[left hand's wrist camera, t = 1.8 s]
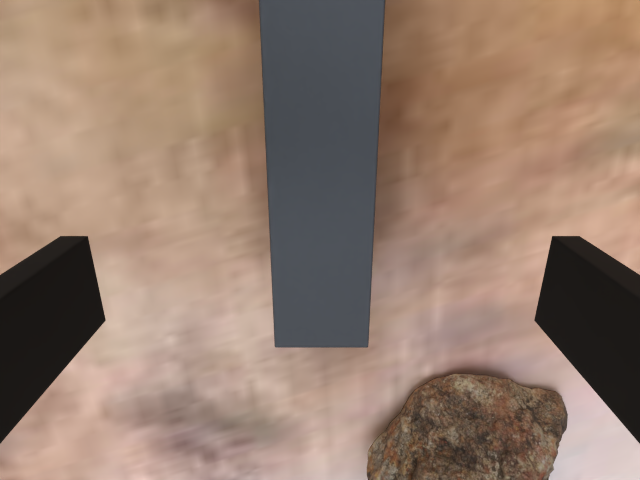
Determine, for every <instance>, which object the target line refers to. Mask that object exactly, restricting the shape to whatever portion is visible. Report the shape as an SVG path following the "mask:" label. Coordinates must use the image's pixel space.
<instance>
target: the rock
mask: <svg viewBox="0 0 640 480" xmlns="http://www.w3.org/2000/svg"><path fill="white" fill-rule="evenodd" d="M567 416H568V414H567V411H566V408H565V405H564V402H563V400H562V396H561V395H559V394H558V393H557V392H555V391H549V390H543V389H540V388H533V389H530V388H528V387H522V386H520V385H518V384H516V383H515V382H513V381H512V380H510V379H498V378H496V377H491V376H483V375H474V374H453V375H449V376H445V377H440V378H435V379H433V380H431V381H429V382H427V383H426V384H424V385H422V386H420V387H418V388H417V389H416V390H415V391H414V392H413V393H412V394H411V395H410V397H409V399H408V401H407V402H406V404H405V405H404V407H403V409H402V411H401V413H400V414H399V415H398V416H397V417H396V418H395V419H393V420H392V422H391V423H390V424H389V426H388V427H387V429H386V430H385V431H384V432H383V433H382V434H381V435H380V436H379V437H378V438H377V439H376V440H375V441H374V443H373V444H372V446H371V447H370V449H369V451H368V464H367V477H368V480H548V478H549V476H550V473H551V472H552V471H553V470H554V469H553V463H554V461H555V459H556V456H557V454H558V450H557V449H558V446H559V442H560V441H561V438H562V434H563V433H564V432H565V430H566V428H567Z"/></svg>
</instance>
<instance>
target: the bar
mask: <svg viewBox="0 0 640 480" xmlns="http://www.w3.org/2000/svg"><path fill="white" fill-rule="evenodd" d="M259 11H260V33H261V55H262V77H263V98H264V120H265V142H266V164H267V186H268V207H269V229H270V251H271V273H272V295H273V316H274V338H275V347H368V340H369V320H370V299H371V279H372V258H373V238H374V217H375V197H376V176H377V156H378V135H379V115H380V94H381V74H382V54H383V33H384V13H385V0H259Z"/></svg>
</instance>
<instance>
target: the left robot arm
mask: <svg viewBox="0 0 640 480" xmlns="http://www.w3.org/2000/svg"><path fill="white" fill-rule="evenodd" d="M104 322H105V315H104V311H103V306H102V301H101V297H100V292H99V287H98V282H97V278H96V273H95V268H94V264H93V259H92V254H91V249H90V245H89V240H88V236H60V237H59V238H57V239H56V240H54V241H52V242H51V243H49V244H48V245H46V246H45V247H43V248H42V249H40V250H38V251H37V252H35V253H34V254H32V255H31V256H29V257H28V258H26V259H24V260H23V261H21V262H20V263H18V264H17V265H15V266H14V267H12V268H10V269H9V270H7V271H6V272H4V273H3V274H1V275H0V443H1V442H2V441H3V440H4V438H5V437H6V436H7V435H8V434H9V433H10V431H11V430H12V429H13V428H14V427H15V426H16V424H17V423H18V422H19V421H20V420H21V419H22V417H23V416H24V415H25V414H26V413H27V412H28V410H29V409H30V408H31V407H32V406H33V405H34V403H35V402H36V401H37V400H38V399H39V398H40V396H41V395H42V394H43V393H44V392H45V391H46V389H47V388H48V387H49V386H50V385H51V384H52V382H53V381H54V380H55V379H56V378H57V377H58V375H59V374H60V373H61V372H62V371H63V369H64V368H65V367H66V366H67V365H68V364H69V362H70V361H71V360H72V359H73V358H74V357H75V355H76V354H77V353H78V352H79V351H80V350H81V348H82V347H83V346H84V345H85V344H86V343H87V341H88V340H89V339H90V338H91V337H92V336H93V334H94V333H95V332H96V331H97V330H98V329H99V327H100V326H101V325H102V324H103V323H104ZM535 322H536V323H537V324H538V325H539V326H540V327H541V329H542V330H543V331H544V332H545V333H546V334H547V336H548V337H549V338H550V339H551V340H552V341H553V343H554V344H555V345H556V346H557V347H558V348H559V350H560V351H561V352H562V353H563V354H564V355H565V357H566V358H567V359H568V360H569V361H570V362H571V364H572V365H573V366H574V367H575V368H576V369H577V371H578V372H579V373H580V374H581V375H582V377H583V378H584V379H585V380H586V381H587V382H588V384H589V385H590V386H591V387H592V388H593V389H594V391H595V392H596V393H597V394H598V395H599V396H600V398H601V399H602V400H603V401H604V402H605V403H606V405H607V406H608V407H609V408H610V409H611V410H612V412H613V413H614V414H615V415H616V416H617V417H618V419H619V420H620V421H621V422H622V423H623V424H624V426H625V427H626V428H627V429H628V430H629V431H630V433H631V434H632V435H633V436H634V437H635V438H636V440H637V441H638V442H639V443H640V275H639V274H637V273H636V272H634V271H633V270H631V269H630V268H628V267H626V266H625V265H623V264H622V263H620V262H619V261H617V260H616V259H614V258H612V257H611V256H609V255H608V254H606V253H605V252H603V251H602V250H600V249H598V248H597V247H595V246H594V245H592V244H591V243H589V242H588V241H586V240H584V239H583V238H581V237H580V236H552V240H551V245H550V249H549V254H548V259H547V264H546V268H545V273H544V278H543V282H542V287H541V292H540V297H539V301H538V306H537V311H536V315H535Z"/></svg>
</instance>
